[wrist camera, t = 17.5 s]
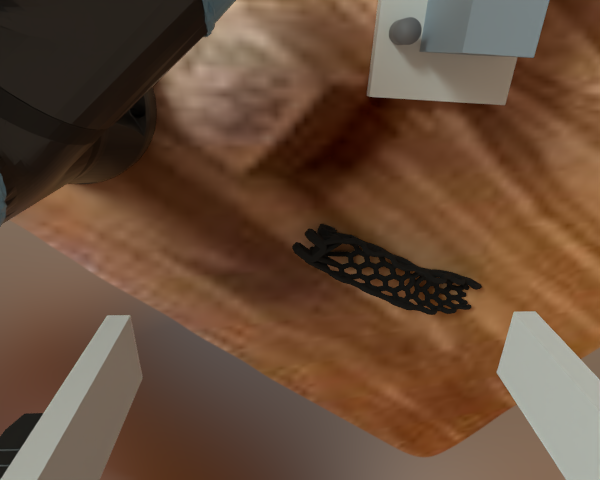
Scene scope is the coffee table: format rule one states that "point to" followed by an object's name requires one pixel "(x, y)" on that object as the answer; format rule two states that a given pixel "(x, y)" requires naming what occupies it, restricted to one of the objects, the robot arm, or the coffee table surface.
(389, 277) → the decorative element
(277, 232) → the coffee table surface
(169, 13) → the robot arm
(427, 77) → the pegboard
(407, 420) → the coffee table surface
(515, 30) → the slate block
